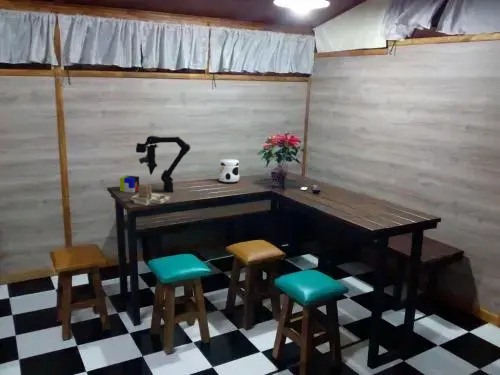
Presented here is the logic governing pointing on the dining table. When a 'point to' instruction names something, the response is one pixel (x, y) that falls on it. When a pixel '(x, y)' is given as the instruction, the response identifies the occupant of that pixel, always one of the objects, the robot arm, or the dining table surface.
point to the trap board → (154, 199)
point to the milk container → (229, 170)
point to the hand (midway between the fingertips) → (150, 174)
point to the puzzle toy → (129, 183)
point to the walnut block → (145, 191)
